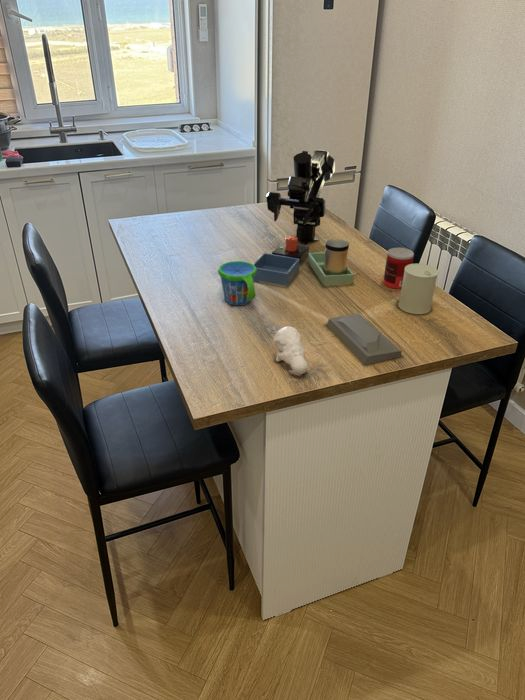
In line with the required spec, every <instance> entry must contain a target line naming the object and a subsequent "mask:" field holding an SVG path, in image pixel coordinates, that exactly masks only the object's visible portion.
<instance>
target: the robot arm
mask: <svg viewBox="0 0 525 700" xmlns="http://www.w3.org/2000/svg"><path fill="white" fill-rule="evenodd" d="M292 159H293V170H294V171H293V172H294V176H293V175H290V176H289V179H288V183H287V188H288V191H287V197H283V196H282V195H281V194H282V193H280V192H273V191H268V193H266V197H265V198H266V205H267V207H266V208H267V210H268V211H270V213H273V220H274V222H277V221H278V219H279V216H280V214H281V209H282V206H286V207H289V209H291V210H292V209H293V212H292V213H293V214H292V215H293V217H292V218H293V225H296V231H295V237H297V238H298V242H299V243H302V244H303V245H307V244H308V245H309V244H312V243H314V242H317V241H319V240H318V238H317V237H316V228H318V227H320V226H321V218H324V217H325V214H326V199H325V198H324V197H321V193H322V190H323V188H324V185H325V182H327V181H329V180H331V178H332V176H333V175H334V174H335V171H336V161H335V159H334V158H333V157H332V156H331V155H330V152H329V151H327V150H325V149H315V150H313V154H312V155H311V153H309V151H307V150H302V151H301V152H300V153H297V154H295V155H294V156H293V158H292Z"/></svg>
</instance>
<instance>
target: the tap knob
mask: <svg viewBox="0 0 525 700" xmlns="http://www.w3.org/2000/svg"><path fill="white" fill-rule="evenodd" d="M284 241H285V242H284V243H285V250H287V251H291V252H292V251H296V250H297V245H298V242H299V241H298V238H297V237H296V235H287V236H285V240H284Z"/></svg>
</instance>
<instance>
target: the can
mask: <svg viewBox="0 0 525 700" xmlns="http://www.w3.org/2000/svg"><path fill="white" fill-rule="evenodd" d="M438 275H439V270H438V269H437V268H436V267H434V266H432V265H430V264H426V263H412V264H409V265H407V266H406V267H405V271H404V277H403V283H402V289H400V295H399V300H398V303H397V307H398V308H399V310H401V311H402V312H404V313H407V314H412V315H426V314H428V313H430V312H431V310H432V303H433V298H434V293H435V288H436V284H437V279H438Z"/></svg>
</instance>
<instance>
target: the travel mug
mask: <svg viewBox="0 0 525 700" xmlns="http://www.w3.org/2000/svg"><path fill="white" fill-rule="evenodd" d="M324 245H325V246H324V247H325V250H324V252H325V259H324V271H323V272H324V274H325V275H326V276H327V275H342V274H345V272H346V265H347V264H348V263H347V262H348V253H349V247H350V243H349V241H348V240H344V239H341V238H330V239H328V240H326V241H325V244H324Z"/></svg>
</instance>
